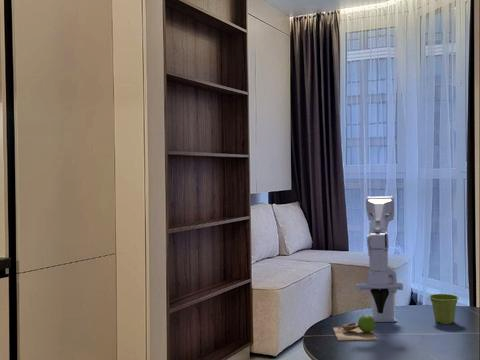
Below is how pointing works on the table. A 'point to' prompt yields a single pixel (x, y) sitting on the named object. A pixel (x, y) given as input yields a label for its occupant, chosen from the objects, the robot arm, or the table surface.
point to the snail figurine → (361, 324)
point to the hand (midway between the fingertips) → (380, 312)
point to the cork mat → (353, 335)
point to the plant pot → (444, 307)
